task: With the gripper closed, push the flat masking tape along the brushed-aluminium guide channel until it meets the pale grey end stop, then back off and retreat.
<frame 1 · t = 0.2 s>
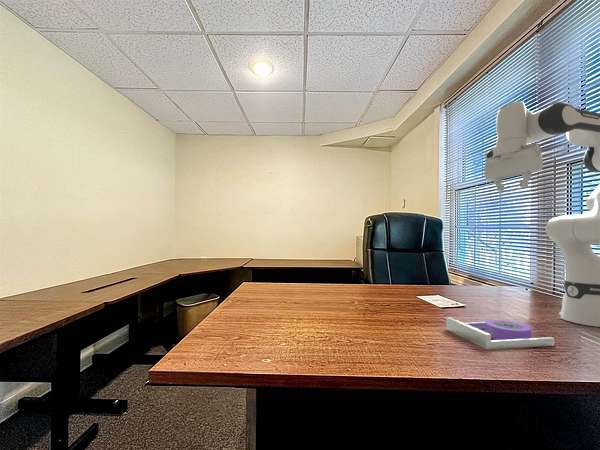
hand: (511, 189, 106), 47 cm above the table, fingers open, 8 cm apart
guide channel: (499, 336, 93), on the table
masking tape: (507, 337, 93), on the table
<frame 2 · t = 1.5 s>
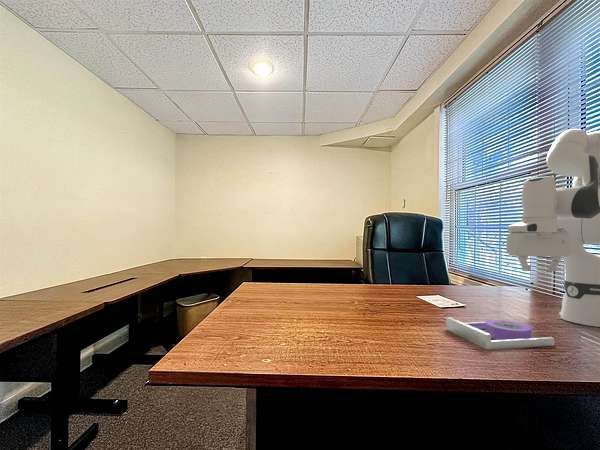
hand: (539, 270, 96), 20 cm above the table, fingers open, 8 cm apart
nothing on the table moved.
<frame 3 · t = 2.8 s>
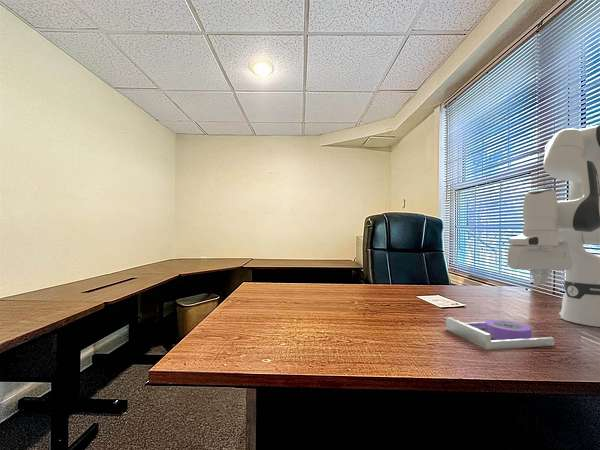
hand: (540, 284, 95), 16 cm above the table, fingers closed
nothing on the table moved.
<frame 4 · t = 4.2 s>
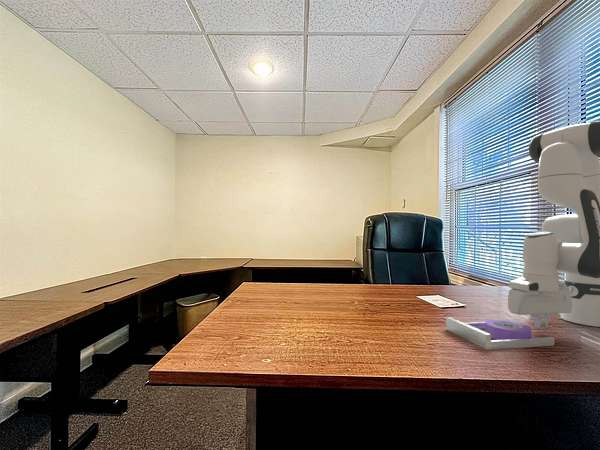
hand: (540, 327, 95), 2 cm above the table, fingers closed
nothing on the table moved.
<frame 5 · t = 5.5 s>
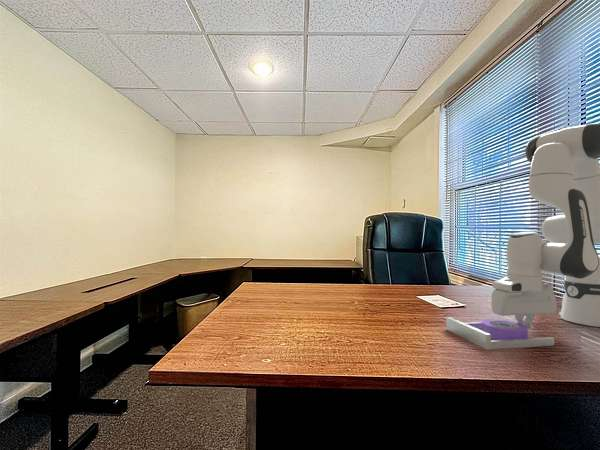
hand: (524, 328, 94), 2 cm above the table, fingers closed
masking tape: (504, 337, 93), on the table, touching gripper
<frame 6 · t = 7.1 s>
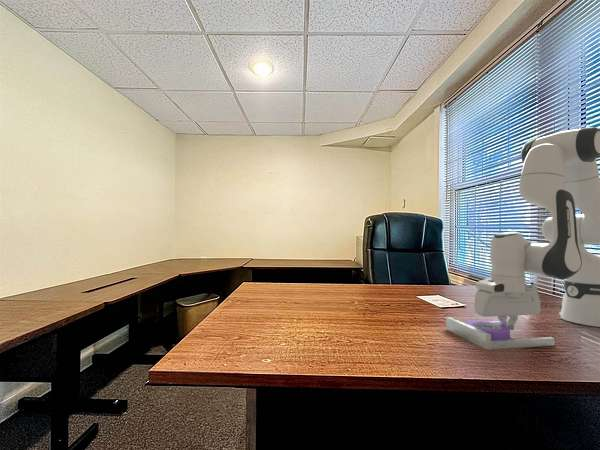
hand: (507, 329, 93), 2 cm above the table, fingers closed
masking tape: (486, 339, 92), on the table
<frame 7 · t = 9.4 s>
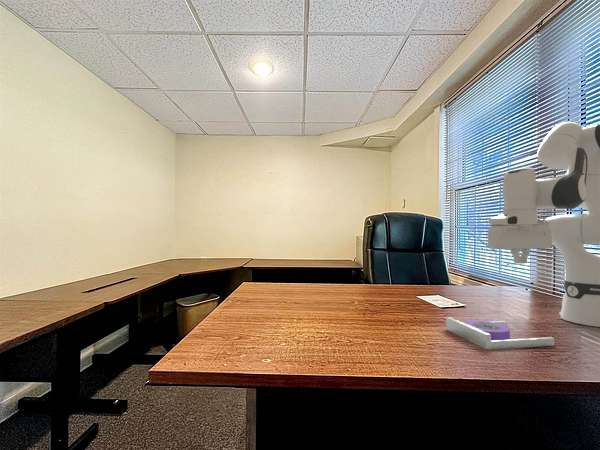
hand: (520, 263, 95), 22 cm above the table, fingers closed
nothing on the table moved.
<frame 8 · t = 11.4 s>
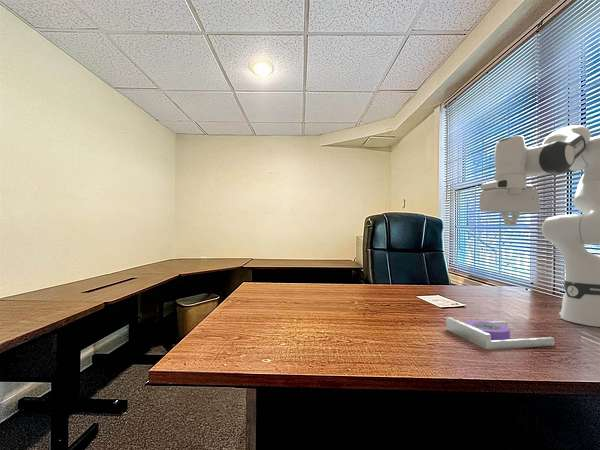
hand: (510, 226, 101), 34 cm above the table, fingers closed
nothing on the table moved.
at the end: masking tape 0.3 cm from the target spot, on the table; masking tape moved 7.3 cm from its start; masking tape tilted 0° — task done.
